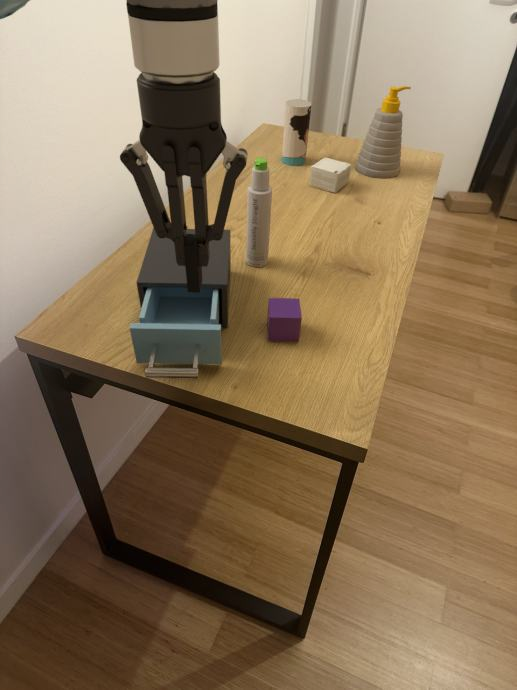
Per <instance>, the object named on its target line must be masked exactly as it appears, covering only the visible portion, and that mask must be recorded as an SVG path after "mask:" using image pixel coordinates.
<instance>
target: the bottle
mask: <svg viewBox="0 0 517 690" xmlns="http://www.w3.org/2000/svg"><path fill="white" fill-rule="evenodd" d="M250 177H251V178H250V181H251V182H250V185H248V187H247V191H246V192H247V194H246V195H247V197H246V199H247V200H246V235H245V236H246V237H245V238H246V240H245V241H246V242H245V262H246V264H247V265H249V266H250V267H254V268H261V267H264V266H266V265H267V264H268V262H269V252H270V251H269V250H270V233H271V216H272V199H273V188H272V187H271V185H270V167H269V166H268V159H267V158H264V157H258V158H256V159H254V166H252V168H251V176H250Z"/></svg>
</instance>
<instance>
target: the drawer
mask: <svg viewBox="0 0 517 690" xmlns="http://www.w3.org/2000/svg"><path fill="white" fill-rule="evenodd" d="M220 303H221V289H207V288H201V289H200V293H198V292H188V289H187V288H161V287H147V290H146V294H145V298H144V301H143V305H142V309H141V308H140V313H139V316H138V320H139V322H131V323H130V326H129V333H130V336H131V342H132V347H133V352H134V356H135V357H134V358H135V361H136V364H148V366H147V367H145V369H144V370H145V371H144V376H145V378H147V379H152V378H154V379H199V377H200V369H199V365H222V363H223V362H222V361H223V352H222V351H223V350H222V344H223V343H222V328H221V325H219V317H220ZM155 364H167V365H169V364H170V365H172V364H173V365H192V367H161V366H160V367H157V366H156V367H155Z"/></svg>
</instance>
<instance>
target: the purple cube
mask: <svg viewBox="0 0 517 690" xmlns="http://www.w3.org/2000/svg"><path fill="white" fill-rule="evenodd" d="M267 303H268V304H267V318H266V327H267V341H268V342H300V341H299V340H300V334H301V327H302V320H303V317H302V309H301V301H300V298H297V297H296V298H295V297H293V298H292V297H291V298H289V297H287V298H286V297H269V298H268V301H267Z"/></svg>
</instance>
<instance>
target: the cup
mask: <svg viewBox="0 0 517 690" xmlns="http://www.w3.org/2000/svg"><path fill="white" fill-rule="evenodd" d="M312 105H313V104H312V102H311V101H308V100H306V99H299V98H298V99H297V98H296V99H295V98H294V99H288V100H286V101H285V110H284V121H283V122H284V124H283V137H282V148H281V149H282V150H281V162H282V163H283V164H284V165H287V166H291V167H293V166H294V167H297V166H302V165H304V164H306V160H307V151H308V143H309V142H308V141H309V132H310V123H311V115H312Z"/></svg>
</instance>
